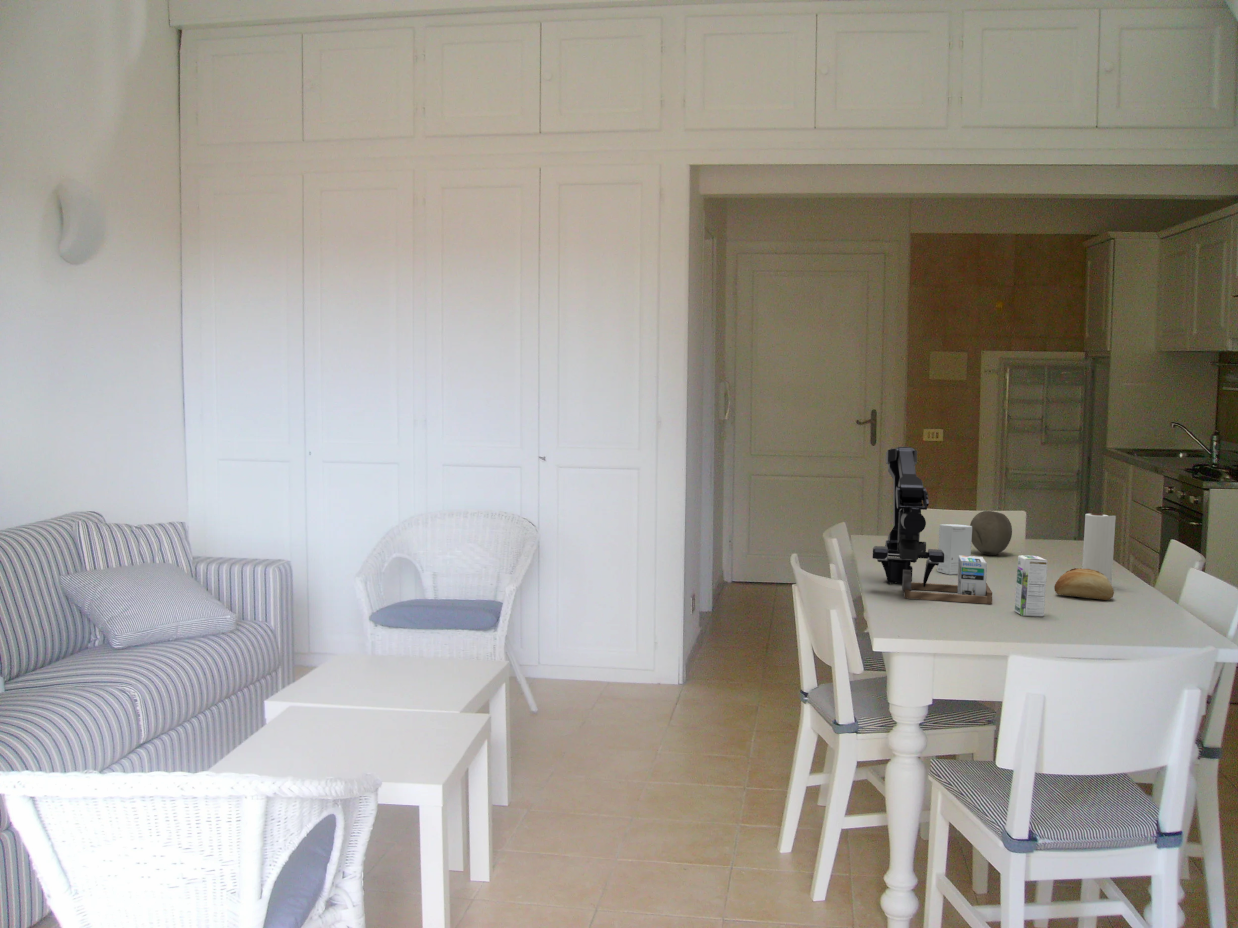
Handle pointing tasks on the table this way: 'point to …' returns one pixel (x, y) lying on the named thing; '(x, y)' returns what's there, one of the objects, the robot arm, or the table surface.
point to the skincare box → (953, 546)
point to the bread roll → (1084, 584)
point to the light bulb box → (972, 575)
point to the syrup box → (1030, 585)
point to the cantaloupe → (991, 532)
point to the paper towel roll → (1099, 543)
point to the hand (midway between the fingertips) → (906, 585)
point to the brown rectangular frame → (909, 594)
